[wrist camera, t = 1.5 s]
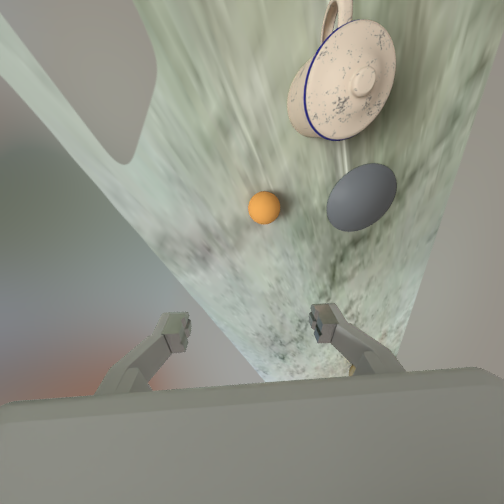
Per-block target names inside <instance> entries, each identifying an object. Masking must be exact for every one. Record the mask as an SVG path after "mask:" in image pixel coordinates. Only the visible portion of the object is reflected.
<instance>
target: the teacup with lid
mask: <svg viewBox="0 0 504 504" xmlns="http://www.w3.org/2000/svg"><path fill="white" fill-rule="evenodd" d="M337 13H338V28H337V29H336V30H335V31H333V28H334V23H335V19H336V16H337ZM352 14H353V0H330V2H329V4H328V7H327V10H326V13H325V17H324V21H323V26H322V33H321V46H320V47H319V49H318V50H317V52H316V54H315V55H314V56H313V57H312V58H311V59H310V60H309V61H308V62H307V63H306V64H305V65H304V66H303V67H302V68H301V69H300V70H299V71H298V73H297V74H296V76H295V78H294V80H293V82H292V84H291V87H290V90H289V94H288V102H287V108H288V115H289V119H290V121H291V123H292V125H293V127H294V128H295V129H296V130H297V131H298V132H299V133H300V134H302V135H304V136H307V137H318V138H324V139H327V140H331V141H340V140H345V139H348V138H351V137H353V136H355V135H356V134H358V133H359V132H361V131H362V130H364V129H365V128H366V127H367V126H368V125H369V124H370V123H371V122H372V121H373V120H374V119H375V118H376V116H377V115H378V114H379V112H380V111H381V109H382V108H383V106H384V104H385V102H386V100H387V98H388V96H389V94H390V91H391V88H392V85H393V81H394V77H395V70H396V54H395V48H394V44H393V41H392V39H391V37H390V35H389V33H388V32H387V31H386V29H385V28H384V27H383V26H381V25H380V24H379V23H377V22H375V21H372V20H366V19H365V20H364V19H362V20H354V21H352Z"/></svg>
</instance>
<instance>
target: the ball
mask: <svg viewBox="0 0 504 504" xmlns="http://www.w3.org/2000/svg"><path fill="white" fill-rule="evenodd" d="M248 211H249V214H250V216H251V218H252V219H253V220H254V221H255V222H257V223H259V224H269V223H271V222H273V221H274V220H275V219H276V218H277V217H278V215H279V213H280V202H279V200H278V198H277V197H276V196H275V195H274V194H272V193H270V192H266V191H263V192H259V193H257V194H255V195H254V196H253V197H252V198H251V200H250V202H249V206H248Z"/></svg>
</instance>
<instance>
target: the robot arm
mask: <svg viewBox="0 0 504 504" xmlns="http://www.w3.org/2000/svg"><path fill="white" fill-rule="evenodd" d="M310 309H311V312H310V313H309V322H310V325H311V328H312V329H314V330H315V331H314V335H315V338H316V340H317V343H331V344H332V345H333V346H334V347H335V348H336V349H337V350H338V351H339V352H340V353H341V354H342V355H343V356H344V357H345V358H346V359H347V360H348V361H350V362H351V363H352V364H353V365H354V366H355V367H356V369H355V371H354V373H353V375H352V376H345V377H332V378H319V379H305V380H292V381H279V382H265V383H252V384H239V385H226V386H212V387H199V388H186V389H172V390H159V391H152V389H151V387H150V386H149V384H148V382H149V381H150V379H151V378H152V377H153V376H154V375H155V373H156V372H157V371H158V370H159V369H160V367H161V366H162V365H163V364H164V363H165V361H166V360H167V359H168V358H169V357H170V355H171V353H181V352H185V351H186V348H187V344H188V339H187V338H188V337H189V336H190V333H191V320H189V319H188V318H189V314H188V312H169V313H163V314H162V315H161V317H160V319H159V321H158V323H157V325H156V327H155V329H154V332H153V334H152V335H151V336H148V337H147V338H146V339H145V340H143V341H142V342H141V343H140V344H139V345H137V346H136V347H135V348H134V349H133V350H131V351H130V352H129V353H128V354H127V355H125V356H124V357H123V358H122V359H121V360H120V361H118V362H117V363H116V364H115V365H113V366H112V367H111V368H110V369H109V371H108V373H107V374H106V376H105V377H104V379H103V381H102V383H101V384H100V386H99V387H98V389H97V391H96V392H95V394H94V395H93V396H79V397H66V398H52V399H39V400H23V401H14V402H9V403H6V404H4V405H2V406H0V504H504V379H502V378H500V377H498V376H496V375H495V374H492V373H490V372H488V371H486V370H484V369H481V368H477V367H465V368H452V369H439V370H425V371H412V372H406V371H405V369H404V368H403V367H402V365H401V364H400V363H399V362H398V360H397V359H396V357H395V356H394V355H393V353H392V352H391V351H390V349H388V348H387V347H385V346H384V345H382V344H381V343H379V342H378V341H376V340H375V339H373V338H372V337H370V336H369V335H367V334H366V333H364V332H363V331H361V330H360V329H358V328H357V327H355V326H354V325H352V324H351V323H348V322H347V321H346V319H345V318H344V316H343V314H342V313H341V311H340V310H339V308H338V307H337V305H336V304H335V303H327V304H326V303H325V304H312V305H311V308H310Z"/></svg>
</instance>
